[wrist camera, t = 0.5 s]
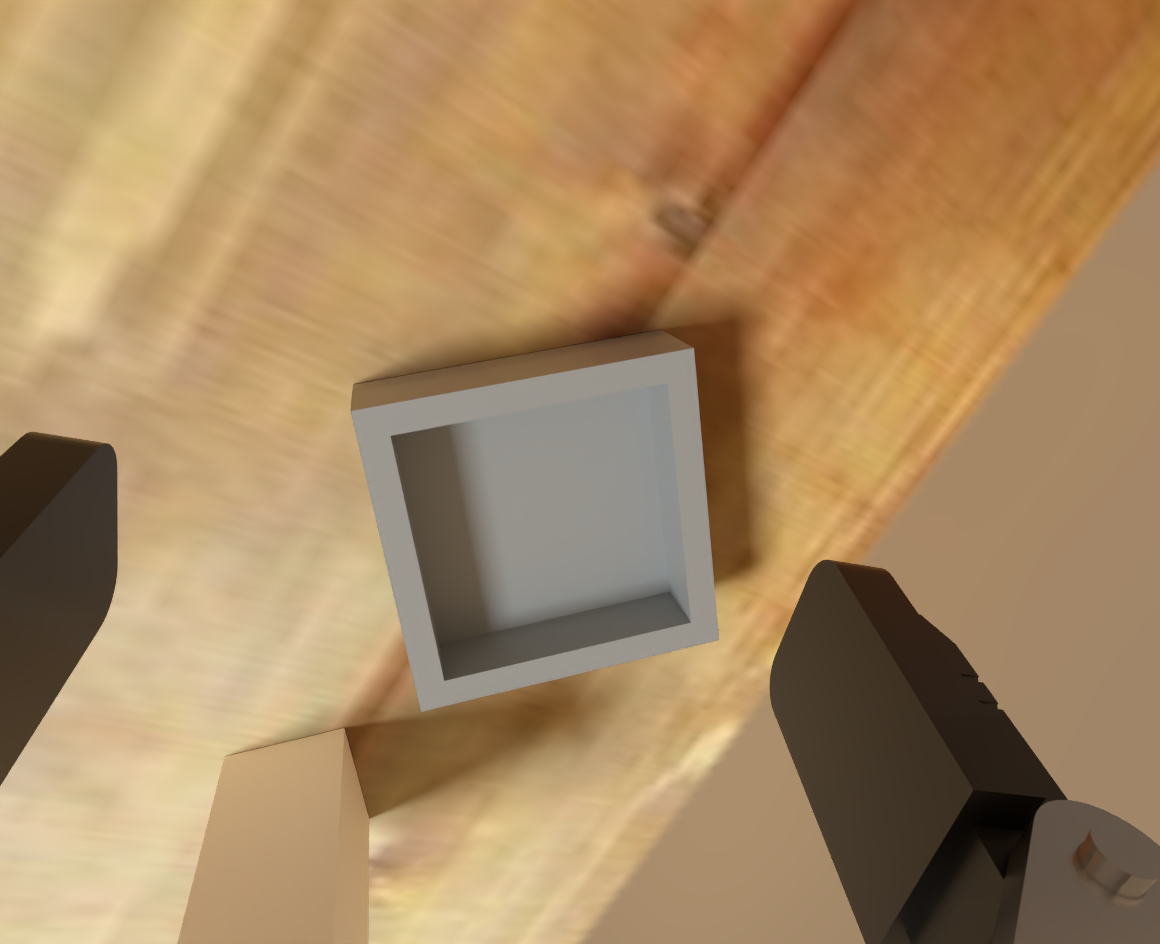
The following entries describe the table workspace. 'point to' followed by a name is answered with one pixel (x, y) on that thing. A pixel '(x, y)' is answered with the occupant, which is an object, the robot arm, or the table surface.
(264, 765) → the cream block
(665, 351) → the tray
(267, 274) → the table surface
